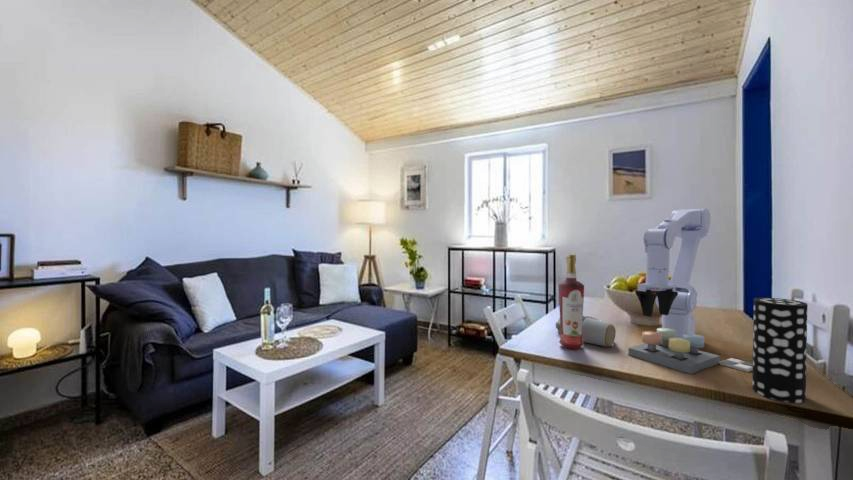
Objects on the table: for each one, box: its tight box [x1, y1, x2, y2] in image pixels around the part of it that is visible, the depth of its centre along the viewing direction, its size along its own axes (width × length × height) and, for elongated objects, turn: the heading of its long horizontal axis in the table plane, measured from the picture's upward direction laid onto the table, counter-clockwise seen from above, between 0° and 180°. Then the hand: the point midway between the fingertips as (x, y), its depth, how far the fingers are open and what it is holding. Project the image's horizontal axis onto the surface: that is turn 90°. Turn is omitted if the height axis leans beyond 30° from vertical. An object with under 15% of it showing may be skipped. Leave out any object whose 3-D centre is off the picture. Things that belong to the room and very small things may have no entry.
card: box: [719, 357, 753, 373], centre depth 96 cm, size 6×6×1 cm
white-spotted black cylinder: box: [751, 297, 809, 404], centre depth 80 cm, size 8×8×20 cm
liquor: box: [557, 254, 585, 350], centre depth 112 cm, size 7×7×28 cm
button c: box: [641, 330, 662, 352], centre depth 103 cm, size 5×5×5 cm
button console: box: [628, 342, 720, 375], centre depth 101 cm, size 14×16×2 cm
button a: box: [656, 327, 676, 348], centre depth 106 cm, size 5×5×5 cm
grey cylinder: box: [582, 318, 617, 348], centre depth 116 cm, size 11×8×8 cm
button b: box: [683, 333, 705, 355], centre depth 100 cm, size 5×5×5 cm
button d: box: [669, 338, 690, 360], centre depth 97 cm, size 5×5×5 cm
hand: (655, 315), depth 110 cm, fingers open, 7 cm apart
